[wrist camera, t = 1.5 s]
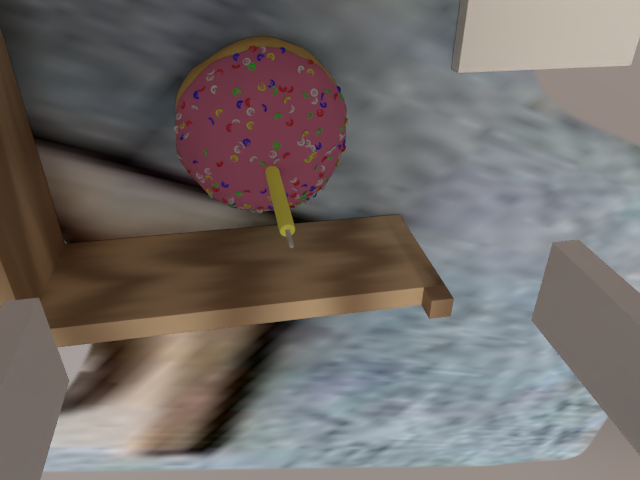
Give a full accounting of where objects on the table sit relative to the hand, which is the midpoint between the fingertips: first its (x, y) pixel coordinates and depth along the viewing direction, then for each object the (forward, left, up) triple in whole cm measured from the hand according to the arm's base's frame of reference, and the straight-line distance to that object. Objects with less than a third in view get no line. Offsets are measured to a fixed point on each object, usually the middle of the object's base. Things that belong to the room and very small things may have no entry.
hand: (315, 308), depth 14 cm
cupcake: (0, 0, -19) cm, 19 cm away
